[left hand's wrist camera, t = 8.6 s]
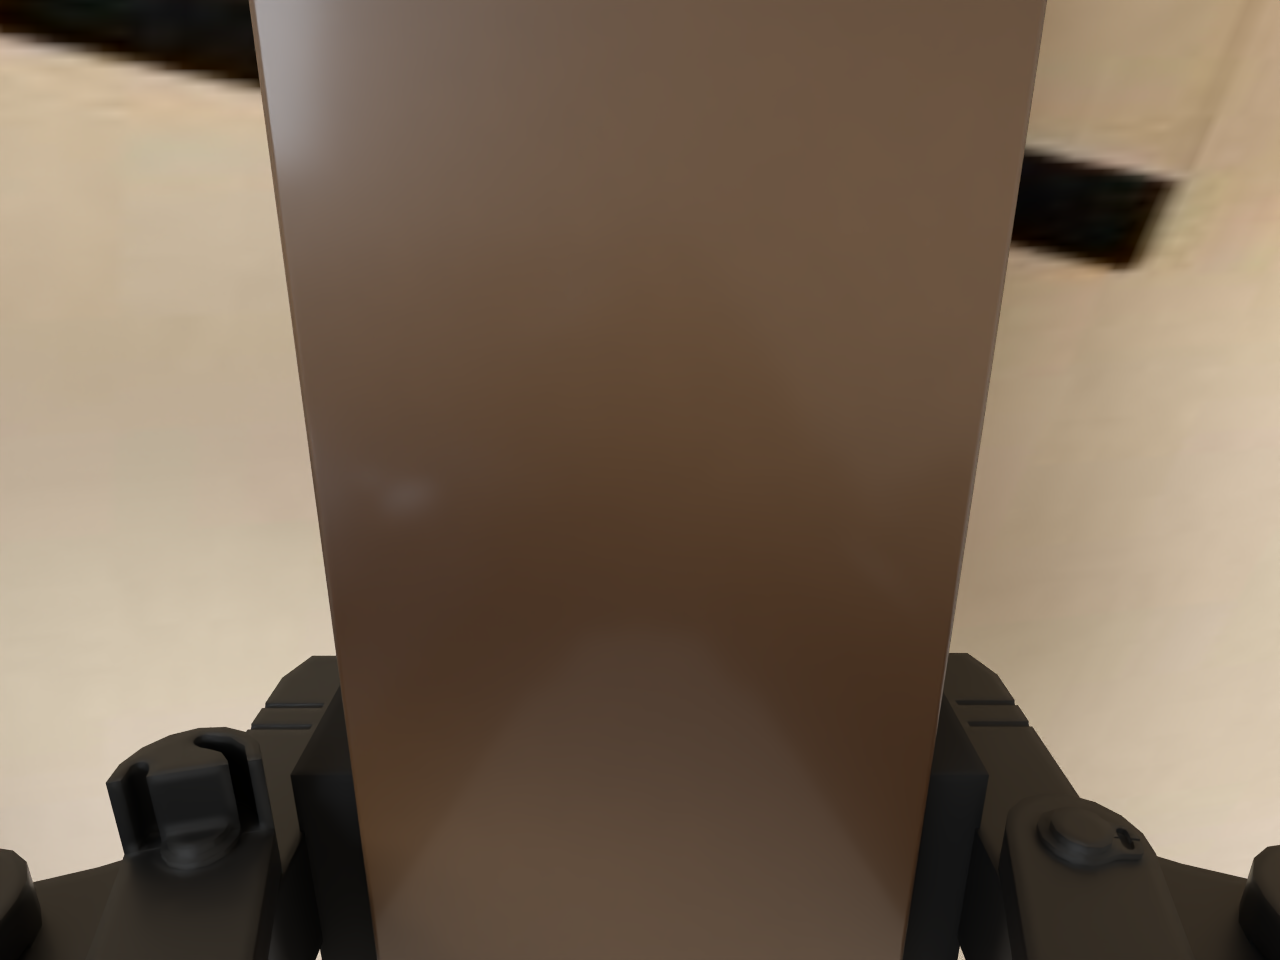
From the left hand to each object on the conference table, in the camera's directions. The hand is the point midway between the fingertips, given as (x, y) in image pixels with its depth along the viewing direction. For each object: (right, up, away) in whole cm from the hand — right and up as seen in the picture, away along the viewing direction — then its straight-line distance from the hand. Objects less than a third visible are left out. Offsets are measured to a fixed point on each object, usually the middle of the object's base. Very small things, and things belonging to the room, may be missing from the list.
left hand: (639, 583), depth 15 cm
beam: (0, +24, -8) cm, 25 cm away
